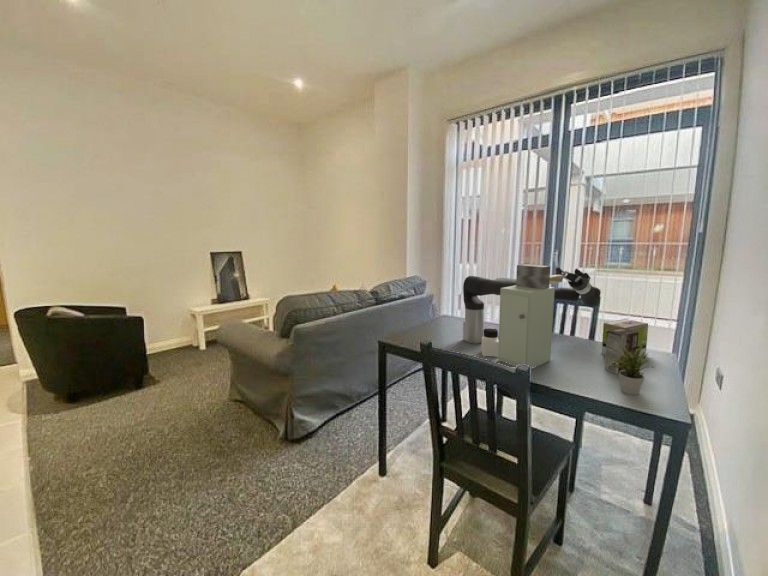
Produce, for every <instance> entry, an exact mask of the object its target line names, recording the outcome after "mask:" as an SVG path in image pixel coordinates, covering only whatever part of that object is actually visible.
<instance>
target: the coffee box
mask: <svg viewBox="0 0 768 576" xmlns="http://www.w3.org/2000/svg"><path fill="white" fill-rule="evenodd" d="M638 334H639V332H635V331H632V330H629V329H626V328H621V329H615V330H609V331H607V341H606V353H605V354H604V355H605V356H604V364H603V365H604V366H603V369H604V370H607V371H609V372H612V373H613V374H615V375H619V372H620V371H622V370H623V369H624V368H623V367H624V366H623V365H622V364H620V363H618V362H616V361H613V360H610V359H616V360H620V359H619V358H618V357H620V356H621V357H622V358H621V357H620V358H621V359H623V360H624V361H623V360H622V361H623V362H625V363H627V362H626V360H625V359H624V358H623V356H625V355H624V352H623V350H622V348H624V349H626V350H627V351H628V352H629V353H630V355H631V357H632V358H633V354H634V352H635V351H636V349H637V345H638ZM617 344H618V345H617ZM619 345H620V346H621V347H622V348H621V347H620V346H619ZM609 349H611V350H609ZM613 350H615V351H613ZM616 351H617V352H616ZM618 352H619V353H620V354H619V353H618ZM625 352H626V351H625ZM618 354H619V355H620V356H619V355H618ZM626 354H627V353H626ZM622 355H623V356H622ZM617 356H618V357H617ZM625 357H626V356H625ZM627 357H628V356H627ZM611 361H612V362H611ZM614 364H618V365H621V366H623V367H618V368H614V367H615V366H612V365H614ZM622 368H623V369H622ZM624 370H625V369H624Z"/></svg>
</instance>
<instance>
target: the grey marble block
mask: <svg viewBox="0 0 768 576" xmlns="http://www.w3.org/2000/svg"><path fill="white" fill-rule="evenodd" d="M562 277H563V275H555V274H552V275H551V265H539V264H529V263H527V264H525V263H524V264H516V278H515V279H516V286H521V287H529V288H536V289H546V288H549V287H550V285H553V284H558V283H562V282H563V280H562Z"/></svg>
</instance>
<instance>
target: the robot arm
mask: <svg viewBox="0 0 768 576" xmlns="http://www.w3.org/2000/svg"><path fill="white" fill-rule="evenodd" d="M554 275H563V277H562V281H563V279H564V280H566V281H567V282H568V285H569V286H570V287H565V286H563V287H558V288H557V287H556V288H555V292H554V301H555V300H556V301H565V302H573V303H576V302H579V299H581V301H582V303H583V304H584V305H585V306H586V307H588V308H596V307H598V306H599V305H600V301H601V289H599V288H598V287H596V286H593V285H592V284H591V283H590V281H591V277H590V275H589V274H588V273H587V272H583V271H581V270H580V269H579V268H575V270H574V273H572V272H569V271H567V270H565V271H564V270H562V269H561V267H560V266H558V267H556V268H555V274H554ZM514 285H516V278H509V277H507V278H505V277H498V278H496V279H490V278H485V277H482V276H476V275H475V276H474V275H469V276H468V275H467V277H465V279H464V281H463V284H462V293H463V296H462V297H463V303H464V321H463V323H462V325H463V326H462V339H463V341H464V342H466V343H468V344H482V337H484V319H485V317H484V316H485V303H484V302H483V301H482V300H480V298H479V296H488V295H495V296H500V291H501V288H504V287H509V286H514Z"/></svg>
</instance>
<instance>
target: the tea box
mask: <svg viewBox="0 0 768 576" xmlns="http://www.w3.org/2000/svg"><path fill="white" fill-rule="evenodd" d="M602 328H603V329H602V331H603V332H602V342H601V343H602V345H601V354H602V353H603V354H602V355H605V353H606V341H607V331H609V330H615V329H621V328H626V329H629V330H632V331H635V332H639V334H638V345H637V348H639V347H641V346H643V347H642V348H643V349H641V351H640V353H639V356H638V358H640V357H641V355H642V353H643V352H644V351H645V354H644V356H645V355H646V354H647V343H648V331H649V323H647V322H643V321H637V320H635V319H628V318H622V319H618V320H617V319H616V320H613V321H606V322H603V326H602Z"/></svg>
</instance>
